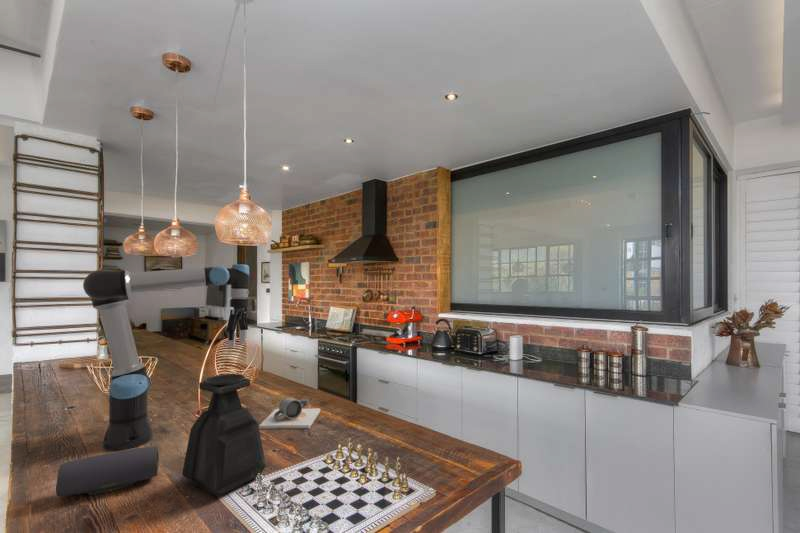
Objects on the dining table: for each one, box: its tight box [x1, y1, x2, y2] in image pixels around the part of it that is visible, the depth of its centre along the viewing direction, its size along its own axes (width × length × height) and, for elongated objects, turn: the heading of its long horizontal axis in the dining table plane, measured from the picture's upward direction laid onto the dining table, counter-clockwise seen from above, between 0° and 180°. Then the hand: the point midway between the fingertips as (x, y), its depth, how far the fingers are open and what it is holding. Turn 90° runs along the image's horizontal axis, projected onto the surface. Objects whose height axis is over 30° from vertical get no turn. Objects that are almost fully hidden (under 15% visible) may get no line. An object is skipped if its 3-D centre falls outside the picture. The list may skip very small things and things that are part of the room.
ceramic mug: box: [274, 397, 303, 420], centre depth 164 cm, size 11×8×8 cm
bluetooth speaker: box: [55, 445, 160, 497], centre depth 112 cm, size 23×9×10 cm, turn 118°
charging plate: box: [258, 398, 321, 430], centre depth 171 cm, size 32×20×2 cm, turn 179°
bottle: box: [182, 373, 267, 497], centre depth 116 cm, size 18×16×30 cm
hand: (236, 346), depth 175 cm, fingers open, 13 cm apart
